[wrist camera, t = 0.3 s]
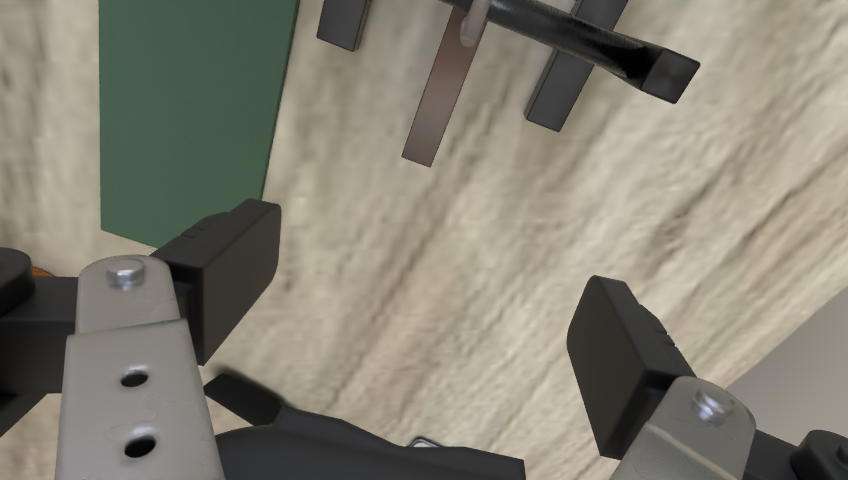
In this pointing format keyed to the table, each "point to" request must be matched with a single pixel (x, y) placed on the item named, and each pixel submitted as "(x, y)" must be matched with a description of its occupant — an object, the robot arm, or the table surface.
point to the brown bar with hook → (445, 81)
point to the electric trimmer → (243, 400)
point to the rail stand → (571, 58)
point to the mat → (186, 108)
